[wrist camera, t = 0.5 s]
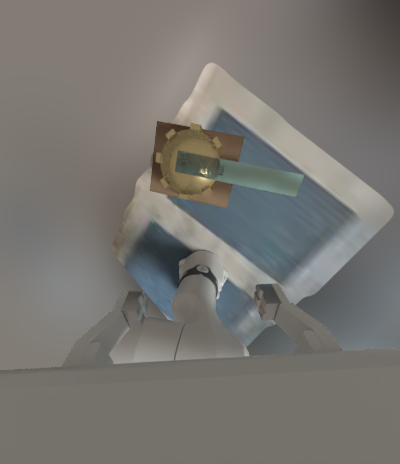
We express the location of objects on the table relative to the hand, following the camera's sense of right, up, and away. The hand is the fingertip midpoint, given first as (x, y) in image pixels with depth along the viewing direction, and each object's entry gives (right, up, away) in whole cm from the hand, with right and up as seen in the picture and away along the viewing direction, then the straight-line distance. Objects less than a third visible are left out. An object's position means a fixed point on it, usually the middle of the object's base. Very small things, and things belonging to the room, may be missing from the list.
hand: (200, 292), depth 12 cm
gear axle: (+4, +14, +15) cm, 21 cm away
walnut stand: (+3, +22, +40) cm, 46 cm away
